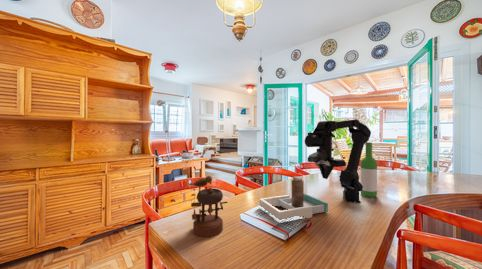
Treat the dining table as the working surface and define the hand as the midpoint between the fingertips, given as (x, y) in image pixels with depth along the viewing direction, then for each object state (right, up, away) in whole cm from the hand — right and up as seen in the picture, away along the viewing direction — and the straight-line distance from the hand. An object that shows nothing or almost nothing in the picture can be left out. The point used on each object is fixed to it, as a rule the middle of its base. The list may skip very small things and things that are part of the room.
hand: (325, 178), depth 95 cm
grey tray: (-13, -13, -5) cm, 19 cm away
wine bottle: (+31, -13, +15) cm, 37 cm away
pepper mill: (-15, -12, -6) cm, 20 cm away
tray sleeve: (-22, -13, -9) cm, 27 cm away
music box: (-52, -13, -24) cm, 59 cm away
